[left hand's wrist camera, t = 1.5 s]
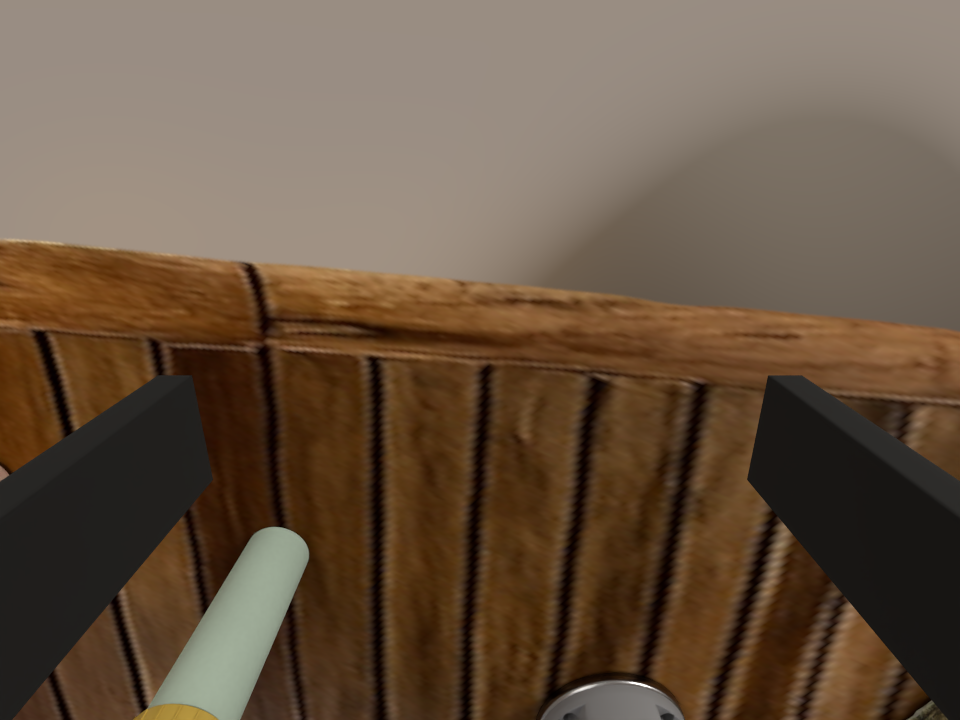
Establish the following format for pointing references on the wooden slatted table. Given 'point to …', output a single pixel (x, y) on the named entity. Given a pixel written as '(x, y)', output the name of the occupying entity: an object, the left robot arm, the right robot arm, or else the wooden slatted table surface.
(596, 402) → the wooden slatted table surface
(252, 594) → the pale green bottle
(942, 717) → the fossil
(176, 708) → the lid
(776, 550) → the wooden slatted table surface
